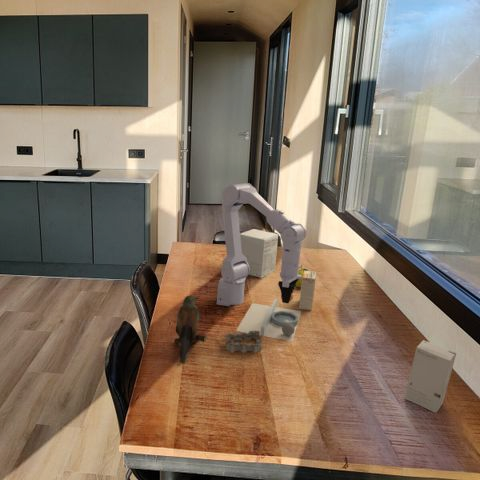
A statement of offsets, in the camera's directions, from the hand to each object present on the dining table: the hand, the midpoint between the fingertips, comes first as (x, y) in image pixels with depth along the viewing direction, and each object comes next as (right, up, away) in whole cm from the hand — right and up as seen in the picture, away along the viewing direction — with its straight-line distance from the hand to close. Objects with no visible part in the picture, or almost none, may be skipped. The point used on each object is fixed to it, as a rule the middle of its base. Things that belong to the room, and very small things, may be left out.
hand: (286, 300), depth 143 cm
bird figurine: (-30, -12, -15) cm, 36 cm away
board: (-5, -8, +2) cm, 10 cm away
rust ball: (0, +1, 0) cm, 1 cm away
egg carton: (-15, -12, -14) cm, 24 cm away
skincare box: (+31, -21, -34) cm, 51 cm away
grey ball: (0, -8, -8) cm, 11 cm away
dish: (0, -7, +2) cm, 8 cm away
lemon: (+9, 0, +35) cm, 37 cm away
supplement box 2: (+9, -5, +16) cm, 19 cm away
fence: (-6, -8, +2) cm, 10 cm away
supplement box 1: (-8, +6, +52) cm, 52 cm away
